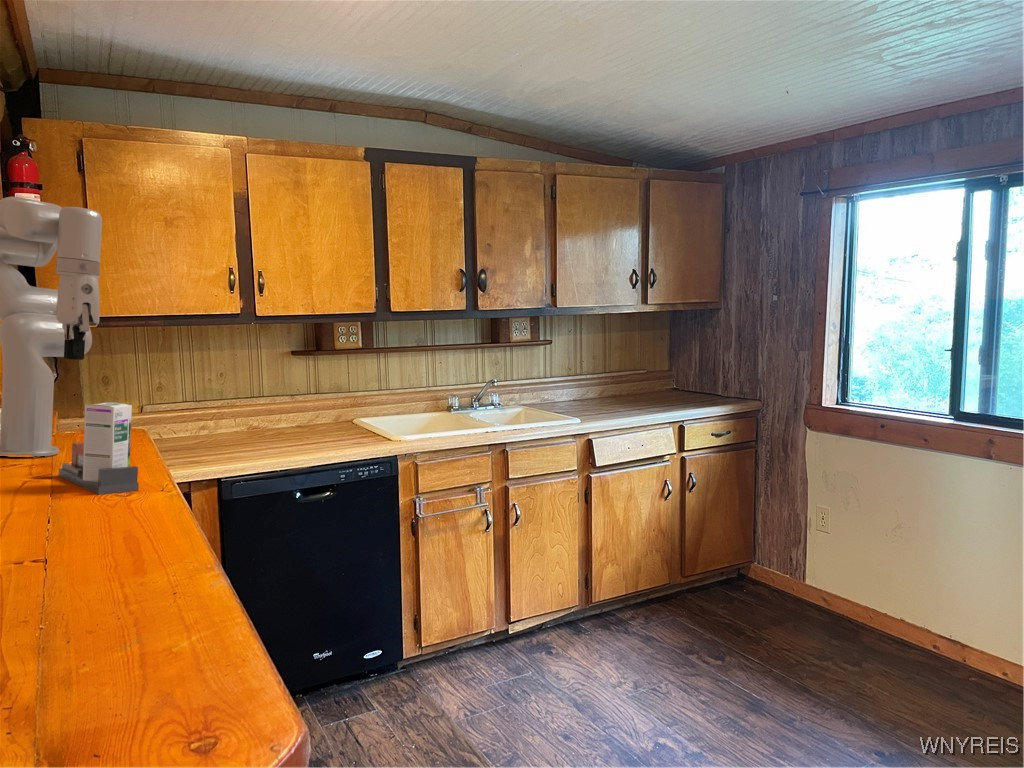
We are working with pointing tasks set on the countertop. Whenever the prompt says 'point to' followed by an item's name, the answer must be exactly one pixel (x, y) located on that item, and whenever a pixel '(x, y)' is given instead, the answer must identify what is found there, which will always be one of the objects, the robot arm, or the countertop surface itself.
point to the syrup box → (106, 438)
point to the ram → (77, 455)
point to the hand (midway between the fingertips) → (73, 359)
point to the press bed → (103, 479)
